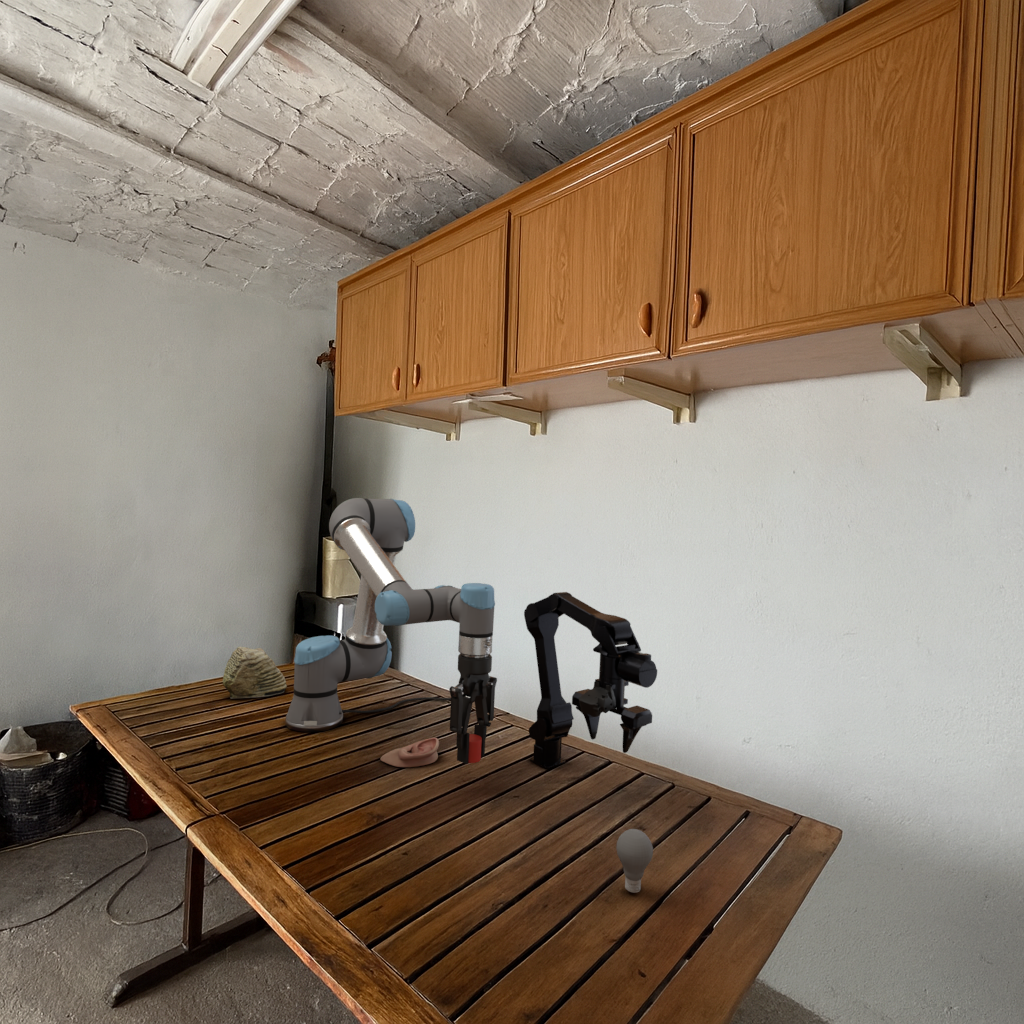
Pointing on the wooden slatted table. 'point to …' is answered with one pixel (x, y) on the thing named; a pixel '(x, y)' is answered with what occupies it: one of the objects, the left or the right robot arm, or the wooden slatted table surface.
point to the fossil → (252, 674)
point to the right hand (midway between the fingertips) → (608, 745)
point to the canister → (474, 748)
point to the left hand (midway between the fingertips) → (470, 757)
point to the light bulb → (634, 857)
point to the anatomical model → (413, 754)
